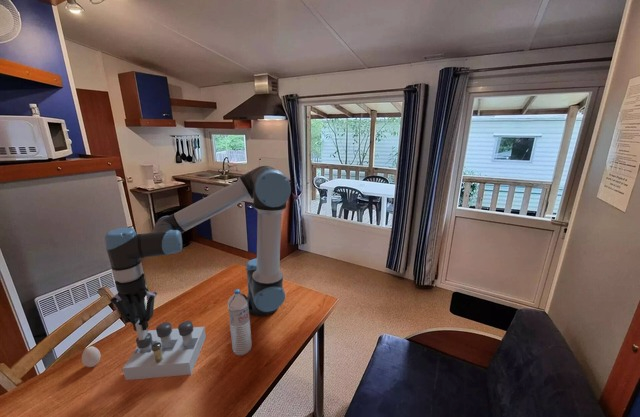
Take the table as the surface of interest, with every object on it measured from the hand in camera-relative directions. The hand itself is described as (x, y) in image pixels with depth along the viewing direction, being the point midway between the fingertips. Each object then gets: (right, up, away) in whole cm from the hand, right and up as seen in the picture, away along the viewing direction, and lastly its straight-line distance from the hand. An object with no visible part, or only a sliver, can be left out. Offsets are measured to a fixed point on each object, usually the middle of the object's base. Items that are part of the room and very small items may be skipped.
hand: (143, 337), depth 88 cm
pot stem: (+8, -6, -4) cm, 10 cm away
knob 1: (0, -7, +2) cm, 8 cm away
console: (+7, -9, +4) cm, 12 cm away
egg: (-17, -10, 0) cm, 19 cm away
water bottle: (+32, -8, +7) cm, 33 cm away
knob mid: (+7, -3, +2) cm, 8 cm away
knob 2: (+14, -3, +3) cm, 15 cm away
